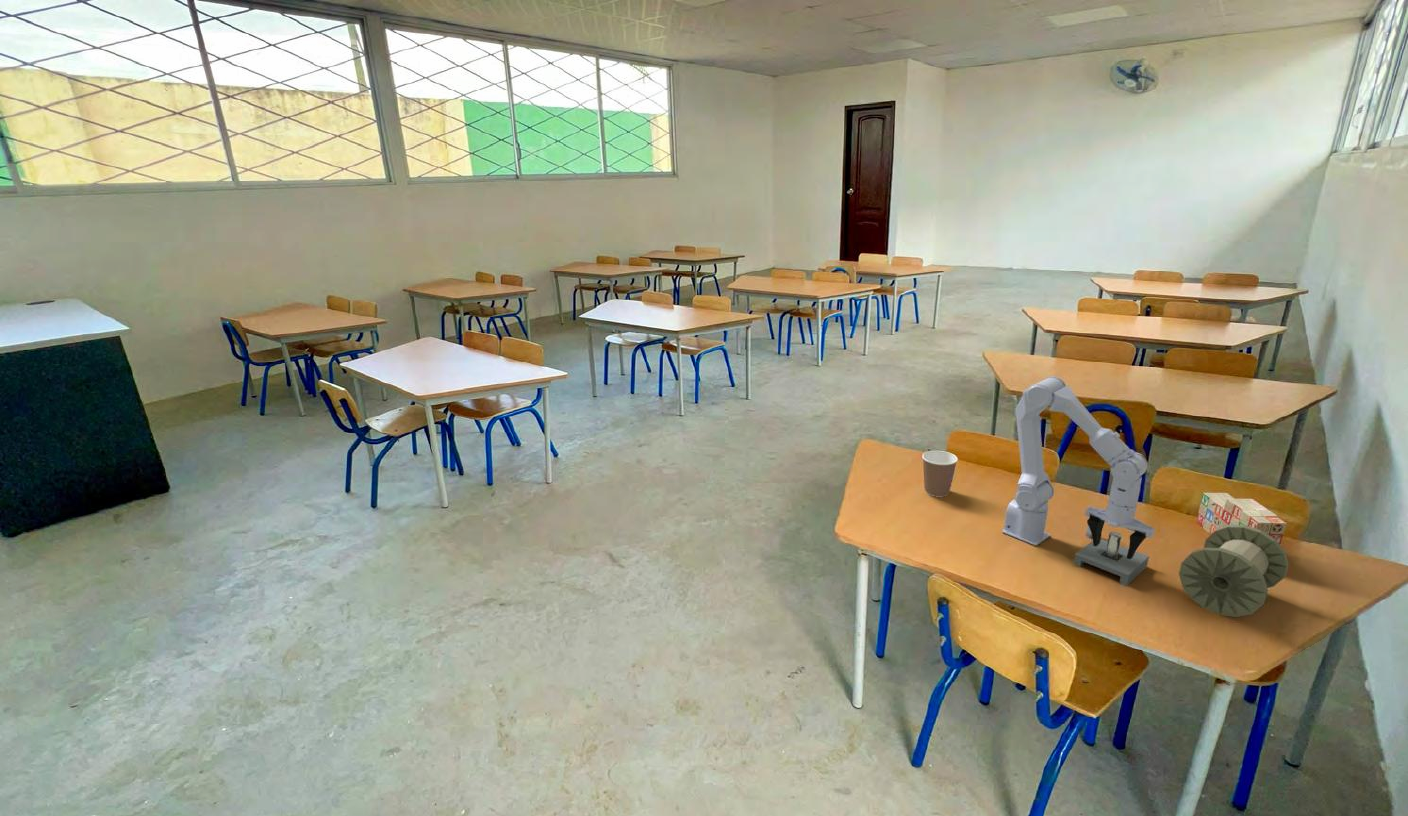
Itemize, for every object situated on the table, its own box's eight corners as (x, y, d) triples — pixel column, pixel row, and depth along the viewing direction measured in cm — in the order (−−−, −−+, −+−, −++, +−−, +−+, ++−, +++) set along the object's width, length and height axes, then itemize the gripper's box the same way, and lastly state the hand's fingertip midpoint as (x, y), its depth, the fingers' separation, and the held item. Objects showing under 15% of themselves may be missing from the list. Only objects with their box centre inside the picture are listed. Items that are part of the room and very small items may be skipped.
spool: (1200, 569, 157) (1213, 515, 152) (1278, 598, 146) (1296, 541, 141) (1173, 596, 148) (1187, 539, 143) (1254, 629, 136) (1272, 568, 131)
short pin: (1084, 535, 173) (1086, 521, 172) (1088, 532, 175) (1091, 518, 173) (1094, 539, 171) (1097, 525, 170) (1098, 536, 173) (1101, 521, 171)
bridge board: (1073, 564, 161) (1075, 553, 160) (1094, 547, 168) (1096, 537, 167) (1126, 585, 152) (1128, 575, 151) (1146, 566, 159) (1149, 556, 158)
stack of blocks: (1194, 522, 178) (1204, 482, 174) (1219, 522, 177) (1230, 482, 173) (1246, 566, 158) (1258, 522, 154) (1274, 566, 157) (1287, 522, 153)
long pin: (1101, 565, 160) (1107, 533, 157) (1107, 561, 161) (1113, 530, 158) (1111, 570, 158) (1118, 538, 155) (1117, 566, 159) (1124, 535, 156)
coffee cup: (959, 499, 195) (963, 463, 191) (925, 500, 195) (928, 464, 191) (947, 484, 205) (950, 449, 201) (915, 485, 205) (917, 451, 201)
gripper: (1083, 496, 157) (1074, 544, 162) (1150, 518, 146) (1139, 569, 151) (1096, 488, 161) (1087, 535, 166) (1162, 508, 150) (1151, 558, 155)
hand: (1112, 551), depth 159 cm, fingers open, 7 cm apart
